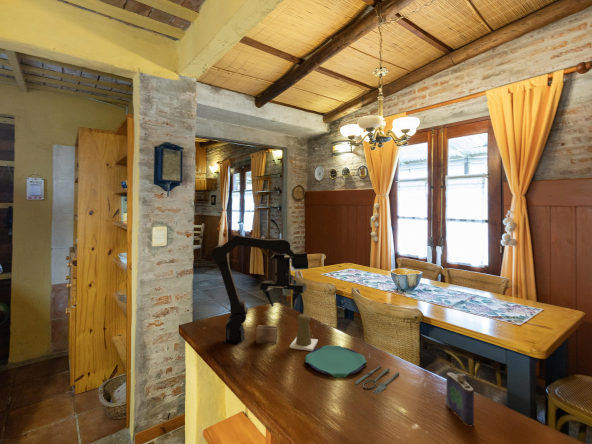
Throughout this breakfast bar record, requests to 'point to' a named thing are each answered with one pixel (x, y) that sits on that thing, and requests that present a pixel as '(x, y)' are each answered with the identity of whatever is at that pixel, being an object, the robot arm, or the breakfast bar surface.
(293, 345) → the plate
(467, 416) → the flask
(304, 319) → the cork
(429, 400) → the breakfast bar surface
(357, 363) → the cutlery set
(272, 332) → the napkin holder
